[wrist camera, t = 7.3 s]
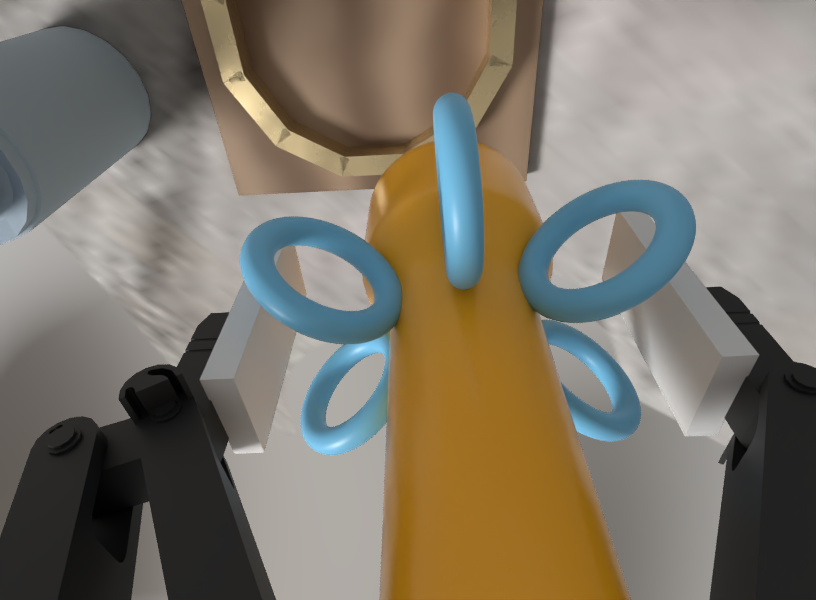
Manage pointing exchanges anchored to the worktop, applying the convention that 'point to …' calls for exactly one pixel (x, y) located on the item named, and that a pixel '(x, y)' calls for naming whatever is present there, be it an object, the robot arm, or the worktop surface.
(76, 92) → the spray bottle
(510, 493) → the cylinder
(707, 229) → the worktop surface
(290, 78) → the seat plate
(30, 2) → the worktop surface
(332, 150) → the tan flat ring
